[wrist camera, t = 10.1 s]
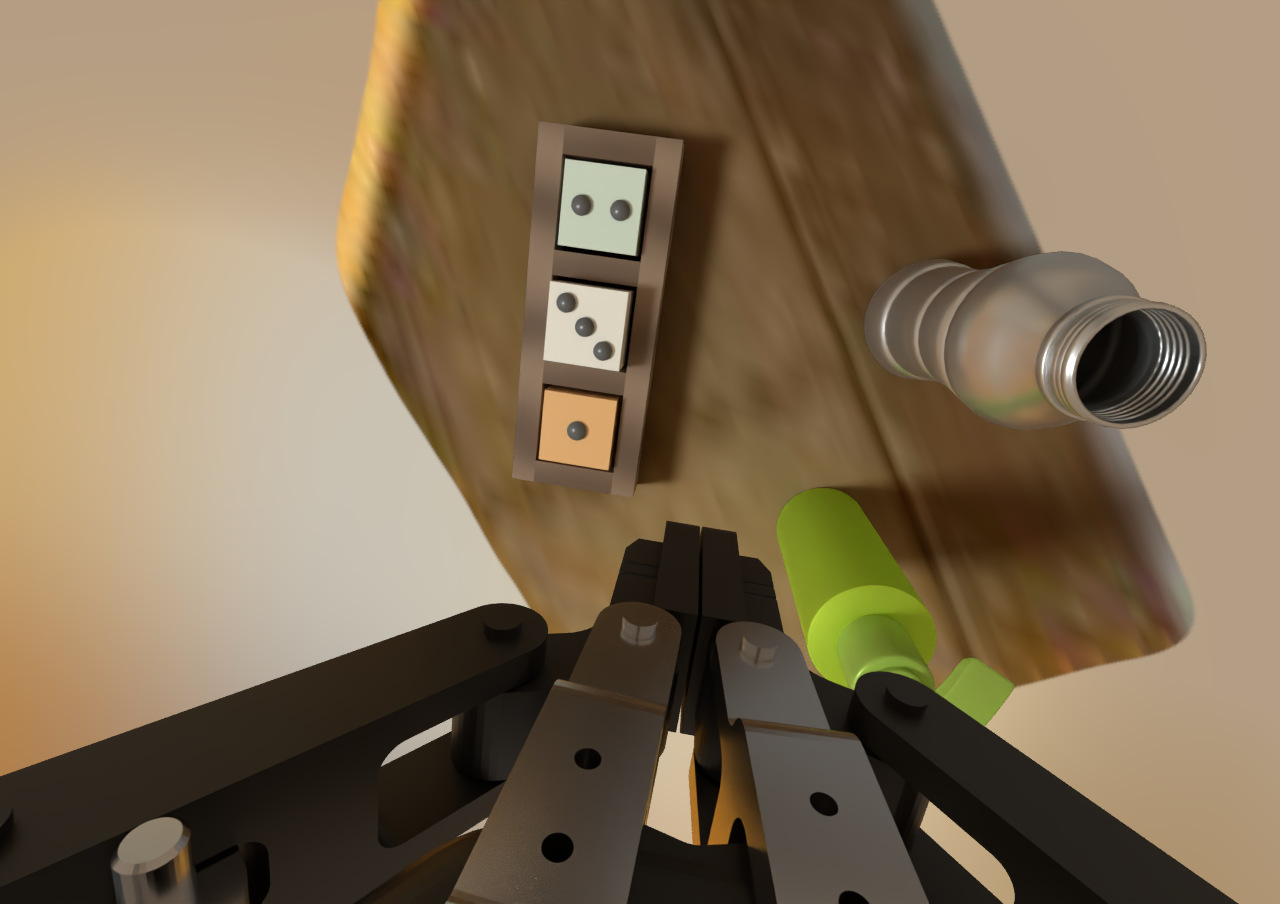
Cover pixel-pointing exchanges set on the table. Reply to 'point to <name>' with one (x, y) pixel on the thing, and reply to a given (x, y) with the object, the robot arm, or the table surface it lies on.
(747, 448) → the table surface
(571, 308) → the three dot button
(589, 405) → the one dot button
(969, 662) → the soap dispenser
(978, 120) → the table surface
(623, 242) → the two dot button
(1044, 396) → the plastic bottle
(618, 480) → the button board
